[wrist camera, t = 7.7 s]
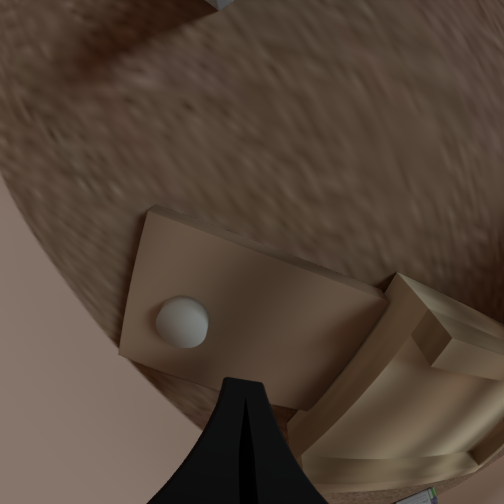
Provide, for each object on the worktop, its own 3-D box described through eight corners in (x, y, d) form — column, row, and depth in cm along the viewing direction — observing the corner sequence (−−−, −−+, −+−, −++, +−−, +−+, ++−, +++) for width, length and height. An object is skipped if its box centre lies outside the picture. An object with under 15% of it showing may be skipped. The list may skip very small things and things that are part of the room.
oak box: (536, 341, 14) (566, 376, 10) (457, 434, 18) (474, 471, 14) (397, 272, 12) (452, 337, 7) (287, 423, 16) (292, 491, 11)
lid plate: (377, 284, 13) (396, 311, 11) (304, 391, 15) (309, 422, 13) (160, 201, 11) (140, 216, 9) (128, 336, 14) (112, 365, 12)
